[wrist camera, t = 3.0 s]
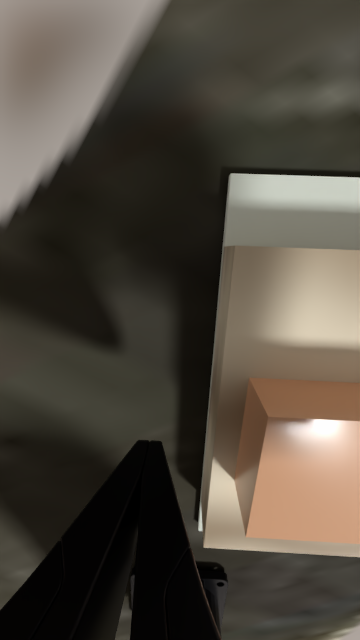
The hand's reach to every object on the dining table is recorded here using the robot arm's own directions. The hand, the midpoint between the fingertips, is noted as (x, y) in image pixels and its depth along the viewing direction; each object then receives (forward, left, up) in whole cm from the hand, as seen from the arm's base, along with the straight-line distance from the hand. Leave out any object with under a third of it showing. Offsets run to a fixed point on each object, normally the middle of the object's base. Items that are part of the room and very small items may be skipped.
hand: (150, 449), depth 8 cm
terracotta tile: (0, -7, -1) cm, 7 cm away
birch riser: (0, -7, -4) cm, 8 cm away
